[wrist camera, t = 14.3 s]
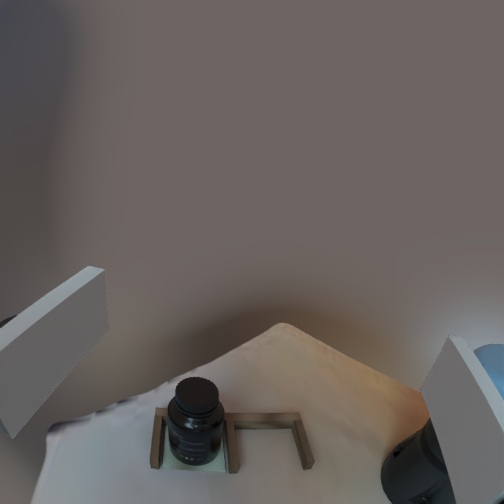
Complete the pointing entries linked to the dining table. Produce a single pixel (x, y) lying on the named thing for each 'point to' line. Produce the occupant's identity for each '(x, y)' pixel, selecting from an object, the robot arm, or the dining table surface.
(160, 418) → the notch rail
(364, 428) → the dining table surface
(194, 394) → the supplement bottle
